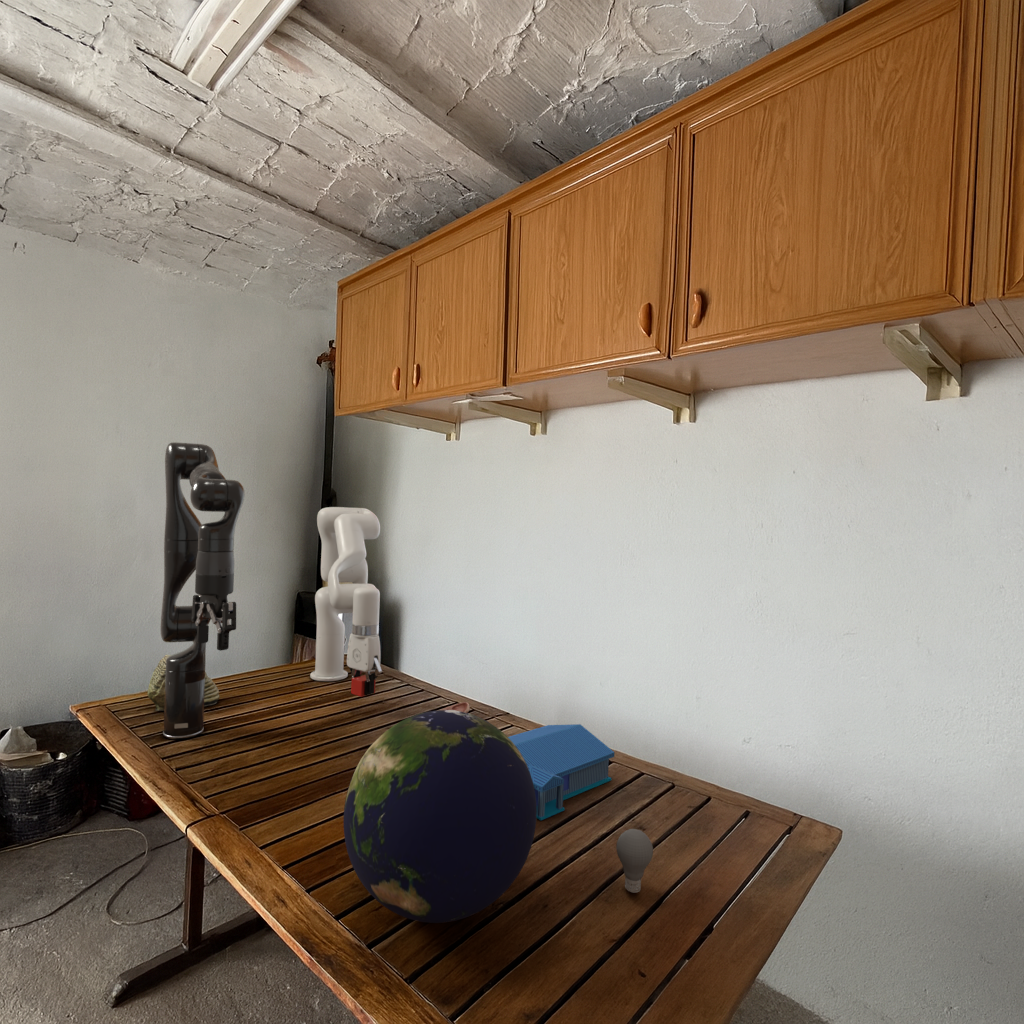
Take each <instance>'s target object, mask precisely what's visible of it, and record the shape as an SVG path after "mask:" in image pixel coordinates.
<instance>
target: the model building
mask: <svg viewBox="0 0 1024 1024" xmlns="http://www.w3.org/2000/svg"><path fill="white" fill-rule="evenodd" d="M507 737H508V738H509V739H510V740H511V741H512V742H513V744H514V745H515V746H516V747H517V749H518V750H519V751H520V753H521V755H522V756H523V758H524V760H525V762H526V764H527V766H528V769H529V772H530V774H531V778H532V781H533V785H534V790H535V795H536V806H537V817H536V820H539V821H543V820H546V819H549V818H551V817H553V816H555V815H558V814H559V813H562V812H564V811H565V810H566V809H565V807H564V805H563V804H564V801H565V800H568V799H570V798H572V797H575V796H577V795H580V794H582V793H585V792H587V791H589V790H591V789H594V788H597V787H599V786H601V785H603V784H606V783H609V782H610V781H612V779H613V778H612V777H610V776H609V766H610V765H609V763H610V759H612V758H614V757H615V751H613V750H612V749H611V748H610V747H609V746H608V745H606V744H605V743H604V742H603V741H601V740H600V738H598V737H597V736H595V735H594V734H593V733H592V732H591V731H589V730H588V729H587V728H586V727H584V726H583V725H582V724H580V723H578V724H576V723H575V724H548V725H547V724H546V725H544V726H541V727H537V728H533V729H530V730H526V731H524V732H520V733H517V734H514V735H513V734H512V735H510V736H507Z"/></svg>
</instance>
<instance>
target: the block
mask: <svg viewBox="0 0 1024 1024" xmlns="http://www.w3.org/2000/svg"><path fill="white" fill-rule="evenodd" d="M365 681H366V674H364V675H363V674H362V675H361V676H359V677H355V678H353V677H351V685H350V686H351V687H350V694H351V695H353V696H354V695H355V696H358V697H361V698H362V697H365V696H367V695H364V689H365ZM376 681H377V679H376V680H375V681H374V693H373V694H376Z"/></svg>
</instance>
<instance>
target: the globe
mask: <svg viewBox="0 0 1024 1024" xmlns="http://www.w3.org/2000/svg"><path fill="white" fill-rule="evenodd" d="M508 737H509V736H508V735H507V734H505V732H503V731H502V730H501V729H500V728H498V727H497V726H495V725H494V724H492V723H491V722H489V721H488V720H485V719H483V718H482V717H479V716H477V715H475V714H472V713H469V712H468V713H464V712H461V711H456V710H441V709H438V711H437V710H430V711H425V712H422V713H421V712H420V713H418V714H414V715H412V716H409V717H407V718H405V719H403V720H401V721H399V722H397V723H395V724H394V725H393V726H391V727H390V728H388V729H387V730H386V731H385V732H383V733H382V734H381V735H380V736H378V738H377V739H376V740H375V741H374V742H373V743H372V744H371V745H370V746H369V747H368V749H367V750H366V751H365V753H364V754H363V756H362V757H361V758H360V760H359V762H358V764H357V765H356V768H355V770H354V773H353V775H352V777H351V778H350V782H349V784H348V789H347V791H346V797H345V800H344V809H343V835H344V843H345V847H346V851H347V855H348V858H349V861H350V863H351V866H352V868H353V870H354V873H355V874H356V876H357V878H358V880H359V881H360V882H361V884H362V885H363V887H364V888H365V889H366V890H367V892H368V893H369V894H370V895H371V896H372V897H373V899H375V901H377V903H379V904H381V905H382V906H383V907H384V908H386V909H387V910H389V911H391V912H392V913H394V914H396V915H398V916H400V917H403V918H406V919H408V920H411V921H416V922H419V923H427V924H428V923H429V924H444V923H451V922H456V921H459V920H463V919H467V918H469V917H471V916H473V915H476V914H478V913H480V912H482V911H483V910H485V909H487V908H488V907H489V906H490V905H492V904H494V903H495V902H496V901H497V900H498V899H499V898H501V896H503V895H504V893H506V891H508V889H510V887H511V886H512V885H513V883H514V882H515V881H516V879H517V878H518V876H519V875H520V873H521V871H522V869H523V867H524V866H525V864H526V862H527V860H528V857H529V854H530V852H531V849H532V845H533V843H534V838H535V832H536V827H537V818H536V817H537V806H536V795H535V790H534V785H533V781H532V778H531V774H530V772H529V769H528V766H527V764H526V762H525V760H524V758H523V756H522V755H521V753H520V751H519V750H518V749H517V747H516V746H515V745H514V744H513V742H512V741H511V740H510V739H509V738H508Z"/></svg>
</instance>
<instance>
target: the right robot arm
mask: <svg viewBox="0 0 1024 1024" xmlns="http://www.w3.org/2000/svg"><path fill="white" fill-rule="evenodd" d="M316 523H317V530H318V533H319V536H320V540H321V553H320V555H321V556H320V557H321V558H320V576H321V580H322V581H324V582H326V583H327V586H323V587H321V588H319V589H318V590H317V591H315V595H314V604H315V612H316V636H315V638H316V640H315V664H314V671H312V672H311V673H310V675H309V676H310V677H309V678H310V679H312V680H314V681H317V682H335V681H343V680H345V679H346V678H347V677H348V676H349V673H348V671H347V670H345V669H344V665H345V663H344V662H345V642H346V641H345V639H346V626H345V623H344V621H343V620H342V618H340V617H339V615H341V614H352V623H351V624H352V625H351V626H352V627H351V633H350V634H349V639H348V643H347V651H346V666H347V667H348V668H349V671H350V673H351V674H350V675H351V678H355V677H359V676H362V673H365V674H364V675H366V681H365V689H364V695H366V696H369V695H373V694H375V693H374V681H375V680H376V681H377V678H378V677H379V676H380V675H382V674H383V670H382V667H381V641H380V636H379V631H380V628H379V627H380V626H379V625H380V624H379V623H380V603H381V602H380V599H381V592H380V590H379V589H378V588H377V587H376V586H375V585H374V584H373V583H368V582H369V581H368V579H369V567H368V561H367V559H366V558H367V549H366V544H365V543H366V542H365V540H375V539H376V540H377V539H378V538H379V536H380V533H381V523H380V519H379V518H378V516H377V515H376V514H375V513H374V512H373V511H372V510H370V509H368V508H365V507H346V506H344V507H343V506H329V507H323V508H321V509H320V510H319V511H318V512H317V515H316ZM376 681H375V682H376Z"/></svg>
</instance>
